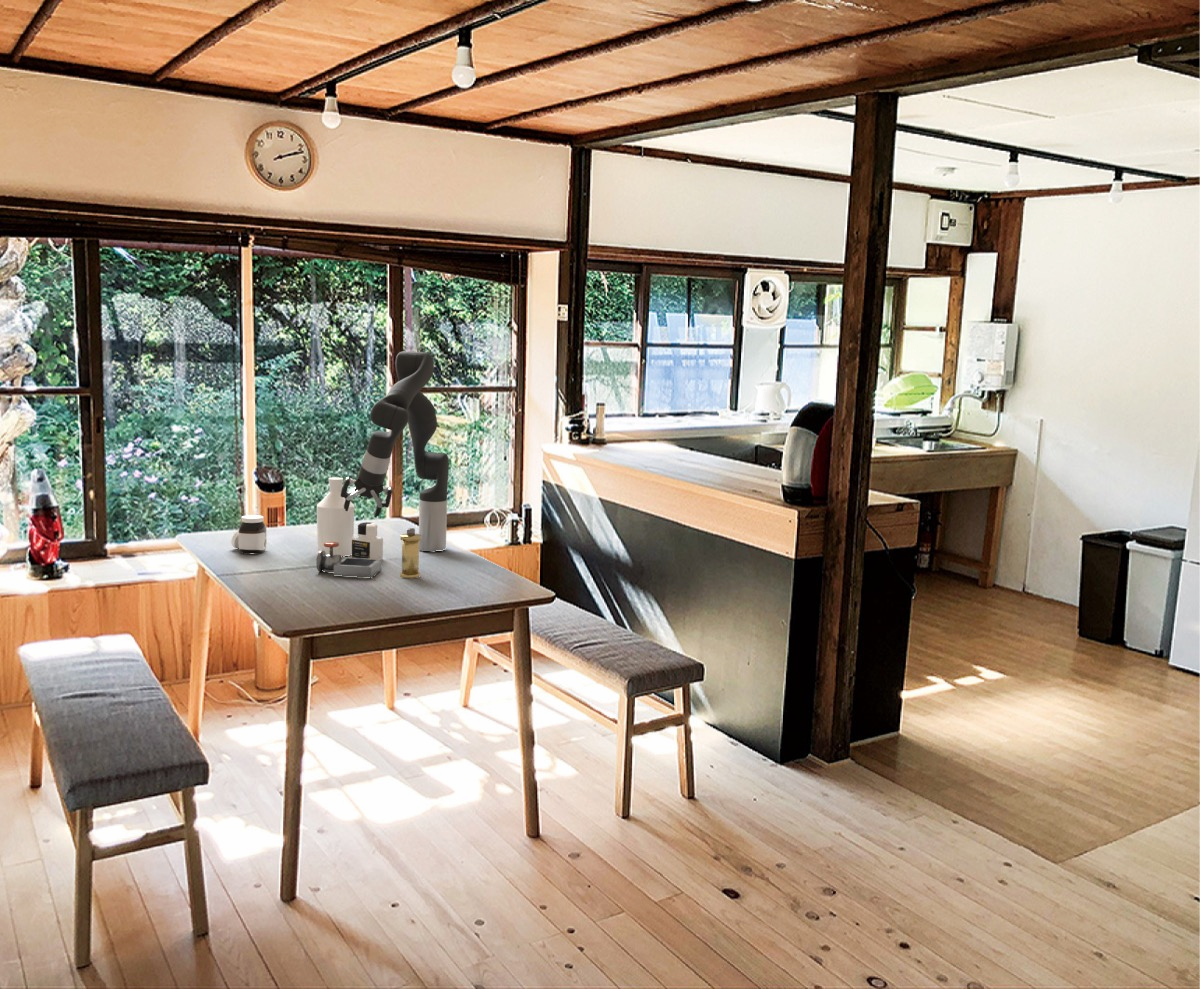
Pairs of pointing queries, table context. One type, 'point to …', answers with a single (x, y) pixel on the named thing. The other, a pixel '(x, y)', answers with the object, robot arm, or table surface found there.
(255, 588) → the table surface
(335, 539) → the bottle
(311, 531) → the table surface
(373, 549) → the medicine bottle
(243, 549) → the spread jar
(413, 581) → the table surface
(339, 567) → the grey piece
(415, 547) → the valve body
